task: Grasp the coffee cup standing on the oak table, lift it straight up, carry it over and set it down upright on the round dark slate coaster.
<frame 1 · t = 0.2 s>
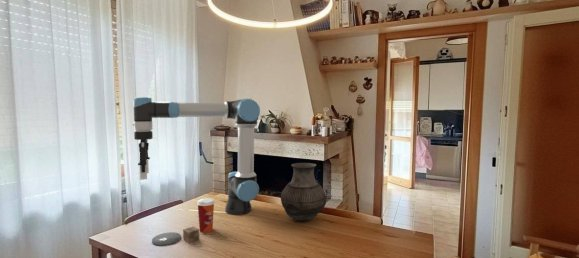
hand: (144, 176, 135), 28 cm above the table, fingers open, 13 cm apart
slate coaster: (166, 239, 131), on the table
coffee cup: (206, 230, 142), on the table
vase: (303, 219, 157), on the table
walnut cube: (191, 240, 131), on the table
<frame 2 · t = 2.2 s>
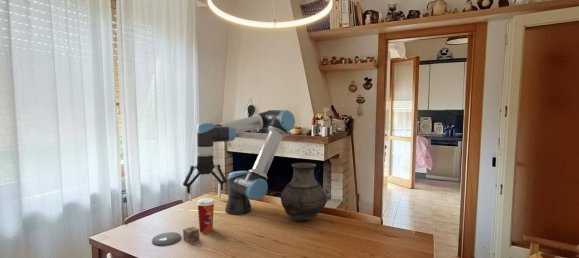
hand: (205, 198, 140), 16 cm above the table, fingers open, 13 cm apart
nothing on the table moved.
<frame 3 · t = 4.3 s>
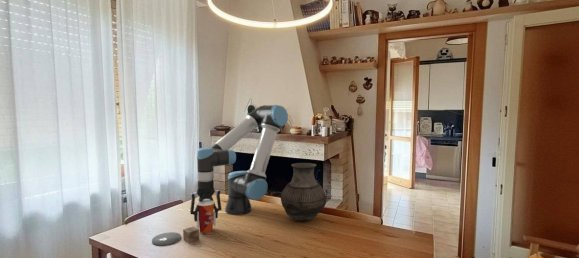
hand: (206, 226, 142), 2 cm above the table, fingers closed on coffee cup, 7 cm apart
coffee cup: (206, 230, 142), on the table, touching gripper
everything else where it was.
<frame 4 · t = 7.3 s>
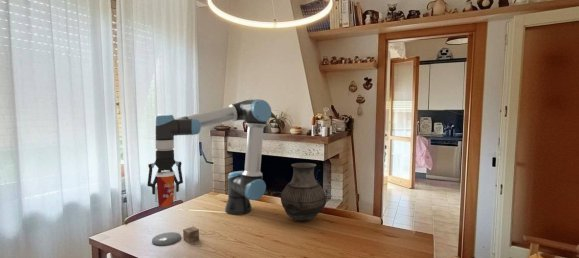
hand: (165, 200, 130), 18 cm above the table, fingers closed on coffee cup, 7 cm apart
coffee cup: (166, 205, 130), point 16 cm above the table, touching gripper
everything else where it was.
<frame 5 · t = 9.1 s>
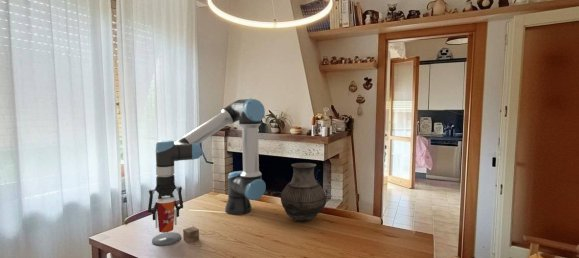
hand: (166, 225, 131), 7 cm above the table, fingers closed on coffee cup, 7 cm apart
coffee cup: (166, 230, 131), point 4 cm above the table, touching gripper
everything else where it was.
when the fingers open (4 cm above the table, at t = 10.5 s): coffee cup drops 1 cm, resting on slate coaster.
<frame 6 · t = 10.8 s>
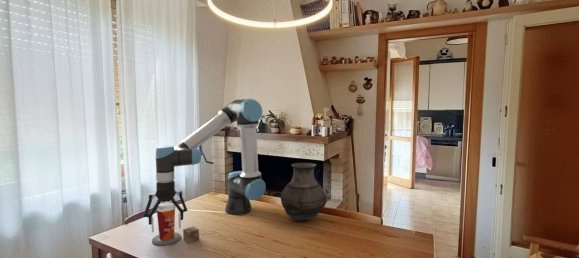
hand: (166, 229, 131), 5 cm above the table, fingers open, 10 cm apart
coffee cup: (167, 238, 131), point 1 cm above the table, touching slate coaster
everything else where it was.
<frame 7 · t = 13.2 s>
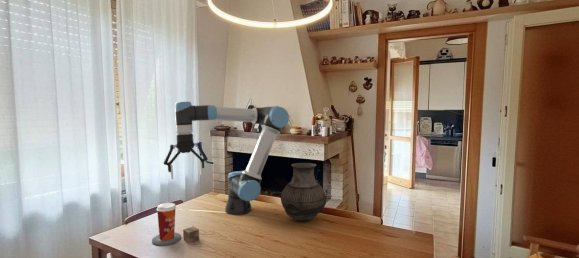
hand: (187, 176, 142), 26 cm above the table, fingers open, 13 cm apart
nothing on the table moved.
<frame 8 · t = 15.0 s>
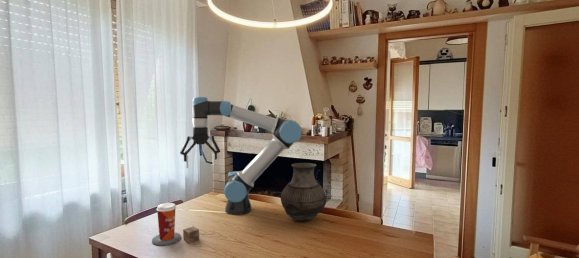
hand: (200, 166, 153), 29 cm above the table, fingers open, 13 cm apart
nothing on the table moved.
at the end: coffee cup 0.2 cm from the slate coaster (horizontally); coffee cup tilted 0°; the gripper is holding nothing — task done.
